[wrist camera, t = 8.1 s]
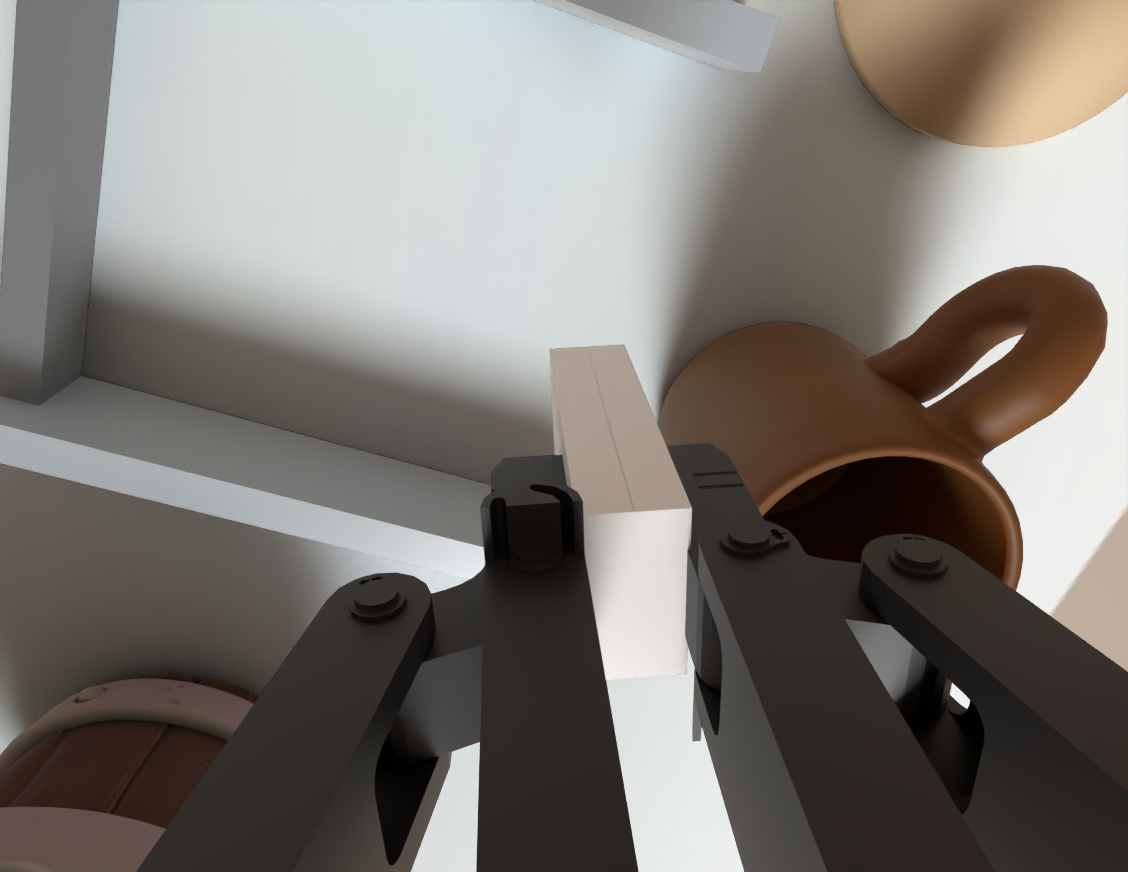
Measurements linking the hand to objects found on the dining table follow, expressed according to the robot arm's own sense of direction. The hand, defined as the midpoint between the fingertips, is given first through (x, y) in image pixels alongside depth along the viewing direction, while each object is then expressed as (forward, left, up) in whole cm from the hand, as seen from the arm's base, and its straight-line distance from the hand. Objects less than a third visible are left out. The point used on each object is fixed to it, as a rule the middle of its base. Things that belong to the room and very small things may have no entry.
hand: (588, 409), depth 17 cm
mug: (+8, 0, -10) cm, 13 cm away
